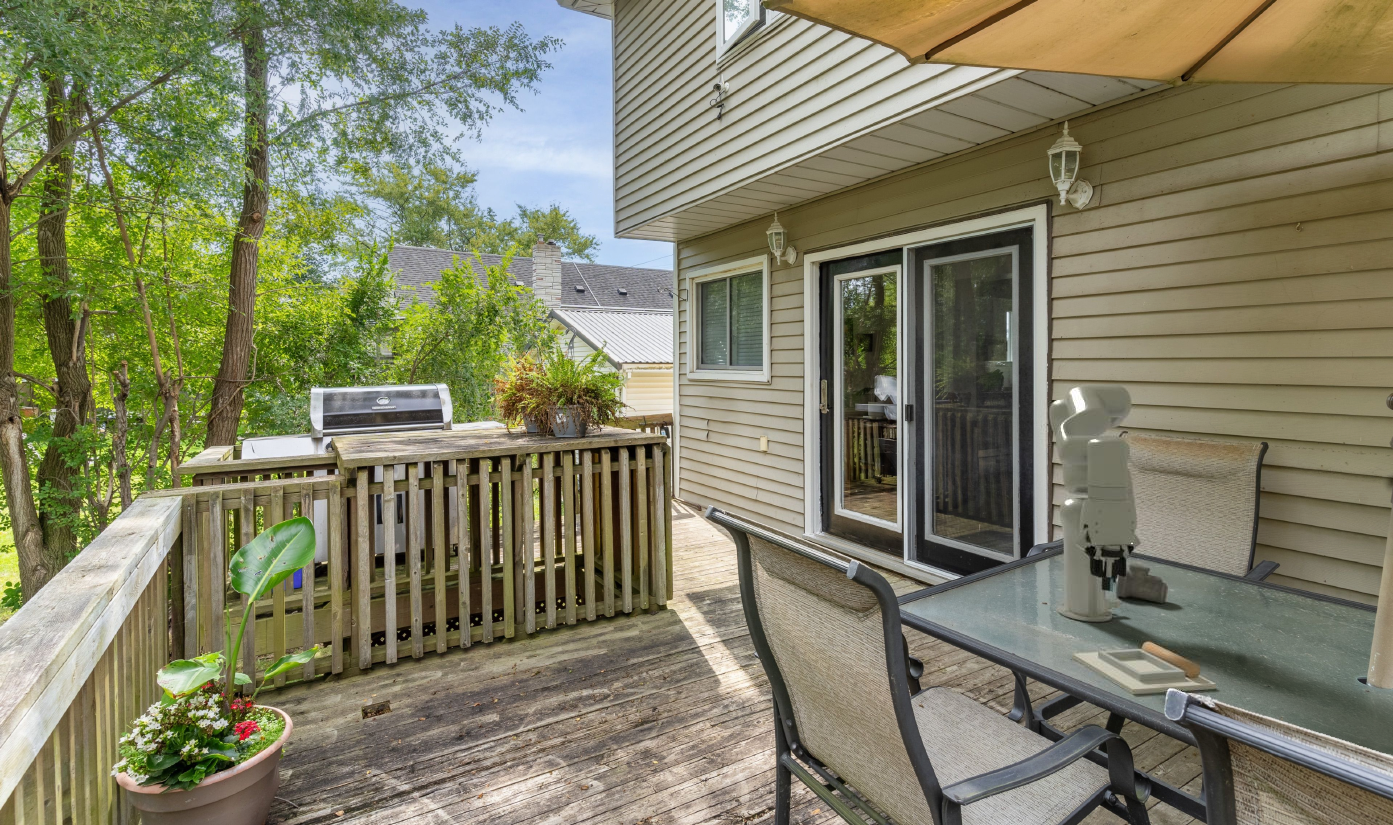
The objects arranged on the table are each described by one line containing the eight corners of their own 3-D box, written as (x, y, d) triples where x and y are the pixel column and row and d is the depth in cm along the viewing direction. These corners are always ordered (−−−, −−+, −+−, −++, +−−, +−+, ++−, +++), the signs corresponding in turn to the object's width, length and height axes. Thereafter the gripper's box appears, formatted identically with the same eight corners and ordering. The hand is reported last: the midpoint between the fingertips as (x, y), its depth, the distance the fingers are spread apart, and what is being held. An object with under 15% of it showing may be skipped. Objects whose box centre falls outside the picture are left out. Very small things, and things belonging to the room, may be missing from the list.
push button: (1095, 581, 147) (1097, 538, 147) (1123, 586, 144) (1125, 542, 144) (1093, 589, 142) (1095, 544, 141) (1122, 593, 139) (1124, 548, 138)
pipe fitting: (1112, 597, 186) (1117, 562, 185) (1117, 593, 192) (1122, 559, 192) (1163, 610, 178) (1168, 574, 178) (1166, 605, 184) (1171, 570, 184)
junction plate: (1146, 653, 148) (1146, 636, 147) (1216, 688, 130) (1215, 669, 130) (1072, 657, 146) (1072, 640, 146) (1132, 694, 128) (1132, 674, 128)
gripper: (1131, 490, 147) (1132, 570, 147) (1060, 492, 146) (1061, 572, 146) (1156, 495, 139) (1157, 579, 140) (1081, 497, 138) (1082, 581, 139)
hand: (1108, 574), depth 143 cm, fingers closed on push button, 4 cm apart
